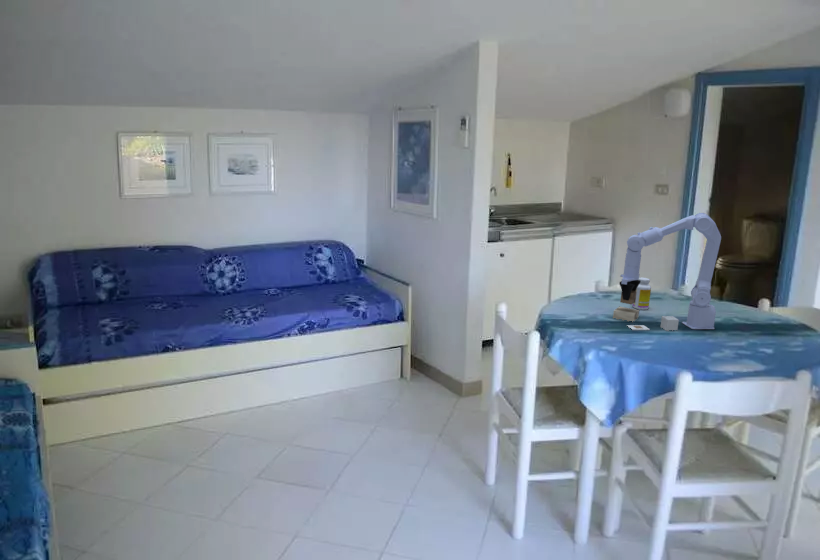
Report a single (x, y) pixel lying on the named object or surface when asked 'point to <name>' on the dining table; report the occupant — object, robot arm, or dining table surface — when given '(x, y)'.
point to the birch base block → (626, 314)
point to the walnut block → (631, 299)
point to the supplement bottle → (642, 294)
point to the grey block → (669, 323)
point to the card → (638, 327)
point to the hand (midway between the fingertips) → (628, 298)
